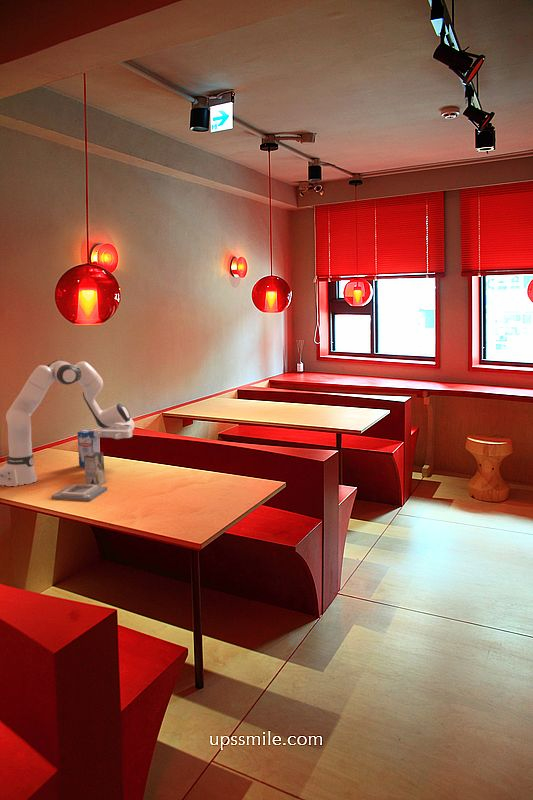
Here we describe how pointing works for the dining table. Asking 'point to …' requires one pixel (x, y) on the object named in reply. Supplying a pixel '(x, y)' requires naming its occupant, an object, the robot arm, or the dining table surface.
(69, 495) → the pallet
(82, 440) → the milk carton
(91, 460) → the coffee box
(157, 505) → the dining table surface
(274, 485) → the dining table surface
